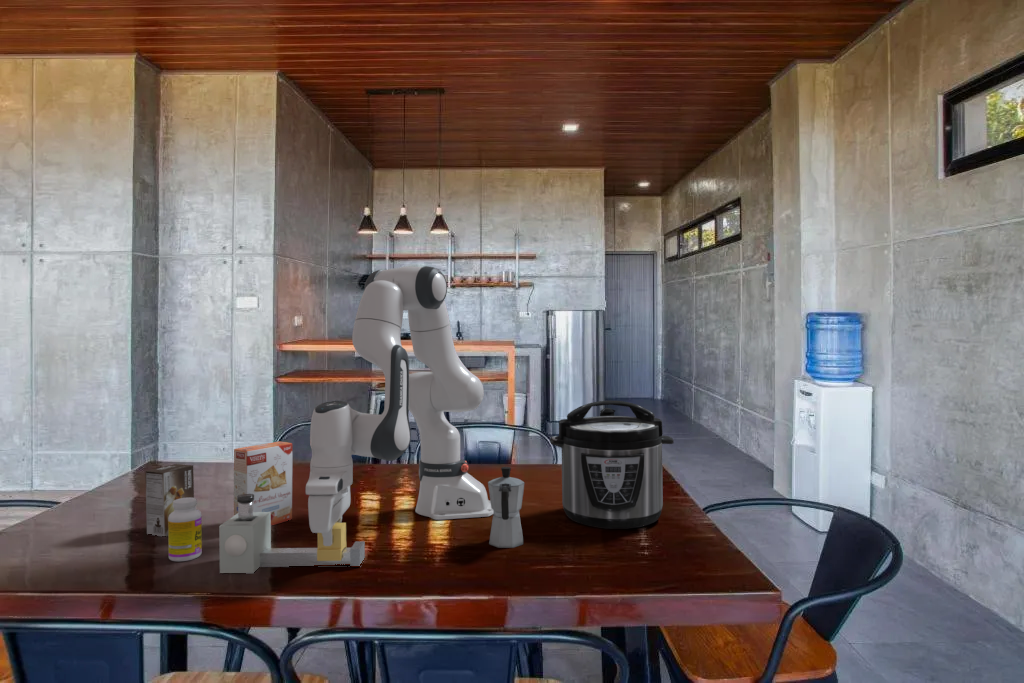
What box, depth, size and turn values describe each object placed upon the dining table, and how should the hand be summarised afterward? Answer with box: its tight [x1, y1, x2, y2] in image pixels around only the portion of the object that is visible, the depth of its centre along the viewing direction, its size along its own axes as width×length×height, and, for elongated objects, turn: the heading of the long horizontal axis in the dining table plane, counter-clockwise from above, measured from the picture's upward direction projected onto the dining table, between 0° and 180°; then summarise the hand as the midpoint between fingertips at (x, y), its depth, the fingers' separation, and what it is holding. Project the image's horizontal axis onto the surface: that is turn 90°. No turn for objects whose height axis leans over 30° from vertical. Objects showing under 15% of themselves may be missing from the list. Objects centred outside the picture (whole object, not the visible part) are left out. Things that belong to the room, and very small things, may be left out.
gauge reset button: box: [237, 494, 254, 521], centre depth 135 cm, size 3×3×7 cm
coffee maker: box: [487, 466, 525, 549], centre depth 148 cm, size 15×9×18 cm, turn 178°
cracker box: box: [233, 441, 293, 527], centre depth 163 cm, size 14×6×21 cm, turn 148°
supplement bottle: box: [167, 497, 203, 562], centre depth 140 cm, size 7×7×13 cm
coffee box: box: [145, 463, 195, 537], centre depth 158 cm, size 9×6×16 cm
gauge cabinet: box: [218, 512, 272, 574], centre depth 135 cm, size 7×11×10 cm, turn 1°
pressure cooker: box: [549, 400, 674, 530], centre depth 169 cm, size 30×28×32 cm
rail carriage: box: [316, 522, 347, 561], centre depth 136 cm, size 5×5×7 cm
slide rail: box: [260, 540, 366, 568], centre depth 136 cm, size 22×5×4 cm, turn 91°
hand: (332, 540), depth 136 cm, fingers closed on rail carriage, 4 cm apart
